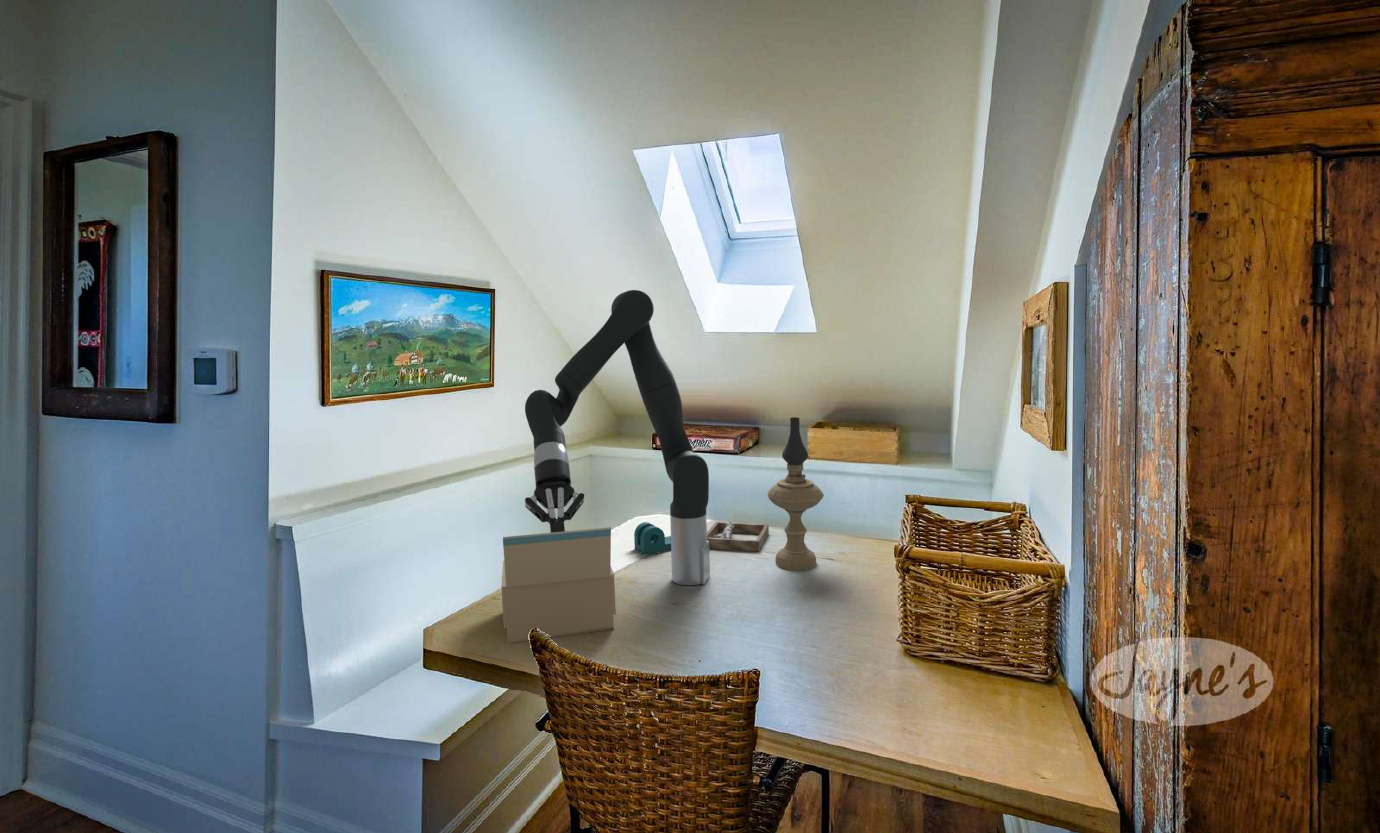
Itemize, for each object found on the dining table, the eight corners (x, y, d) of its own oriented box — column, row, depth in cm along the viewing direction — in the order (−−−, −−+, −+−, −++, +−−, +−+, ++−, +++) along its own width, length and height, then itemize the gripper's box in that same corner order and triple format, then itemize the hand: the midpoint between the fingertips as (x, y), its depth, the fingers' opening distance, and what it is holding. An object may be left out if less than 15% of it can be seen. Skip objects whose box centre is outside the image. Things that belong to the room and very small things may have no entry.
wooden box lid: (502, 537, 131) (502, 539, 130) (610, 527, 136) (610, 529, 136) (506, 585, 136) (506, 587, 136) (609, 574, 141) (610, 576, 141)
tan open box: (506, 609, 156) (503, 559, 154) (605, 597, 161) (603, 549, 160) (504, 643, 138) (501, 587, 136) (616, 629, 143) (614, 575, 142)
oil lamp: (789, 576, 172) (788, 422, 168) (757, 560, 186) (755, 417, 181) (835, 566, 179) (835, 418, 175) (801, 551, 192) (800, 413, 188)
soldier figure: (710, 548, 201) (711, 525, 212) (722, 557, 202) (723, 534, 213) (728, 532, 198) (728, 510, 209) (740, 541, 200) (739, 519, 210)
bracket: (644, 555, 192) (643, 529, 192) (634, 549, 198) (633, 524, 197) (698, 545, 201) (698, 520, 200) (688, 539, 207) (687, 515, 206)
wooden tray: (768, 533, 210) (768, 524, 210) (759, 551, 193) (758, 541, 193) (716, 530, 215) (716, 521, 215) (702, 547, 198) (701, 538, 197)
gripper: (520, 459, 142) (524, 531, 132) (582, 455, 146) (591, 524, 135) (521, 479, 148) (525, 549, 138) (581, 474, 152) (589, 542, 141)
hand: (558, 536), depth 137 cm, fingers closed
